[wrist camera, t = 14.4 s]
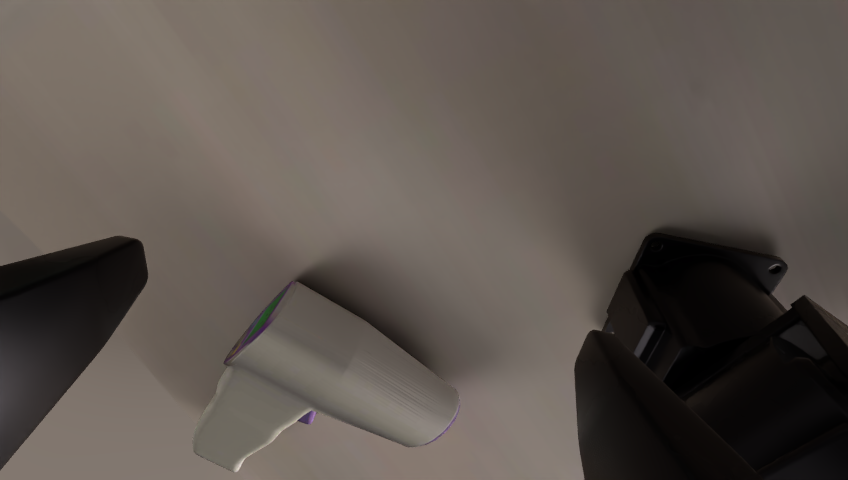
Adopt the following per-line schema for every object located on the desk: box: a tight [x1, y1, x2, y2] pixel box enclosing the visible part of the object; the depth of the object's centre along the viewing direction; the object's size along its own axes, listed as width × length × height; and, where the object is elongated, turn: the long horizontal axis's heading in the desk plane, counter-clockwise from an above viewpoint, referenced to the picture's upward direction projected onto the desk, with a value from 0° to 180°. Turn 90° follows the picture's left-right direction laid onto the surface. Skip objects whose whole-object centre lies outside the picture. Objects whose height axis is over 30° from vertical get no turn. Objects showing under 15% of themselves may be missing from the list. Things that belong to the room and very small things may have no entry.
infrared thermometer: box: [193, 281, 460, 472], centre depth 28 cm, size 5×12×15 cm
